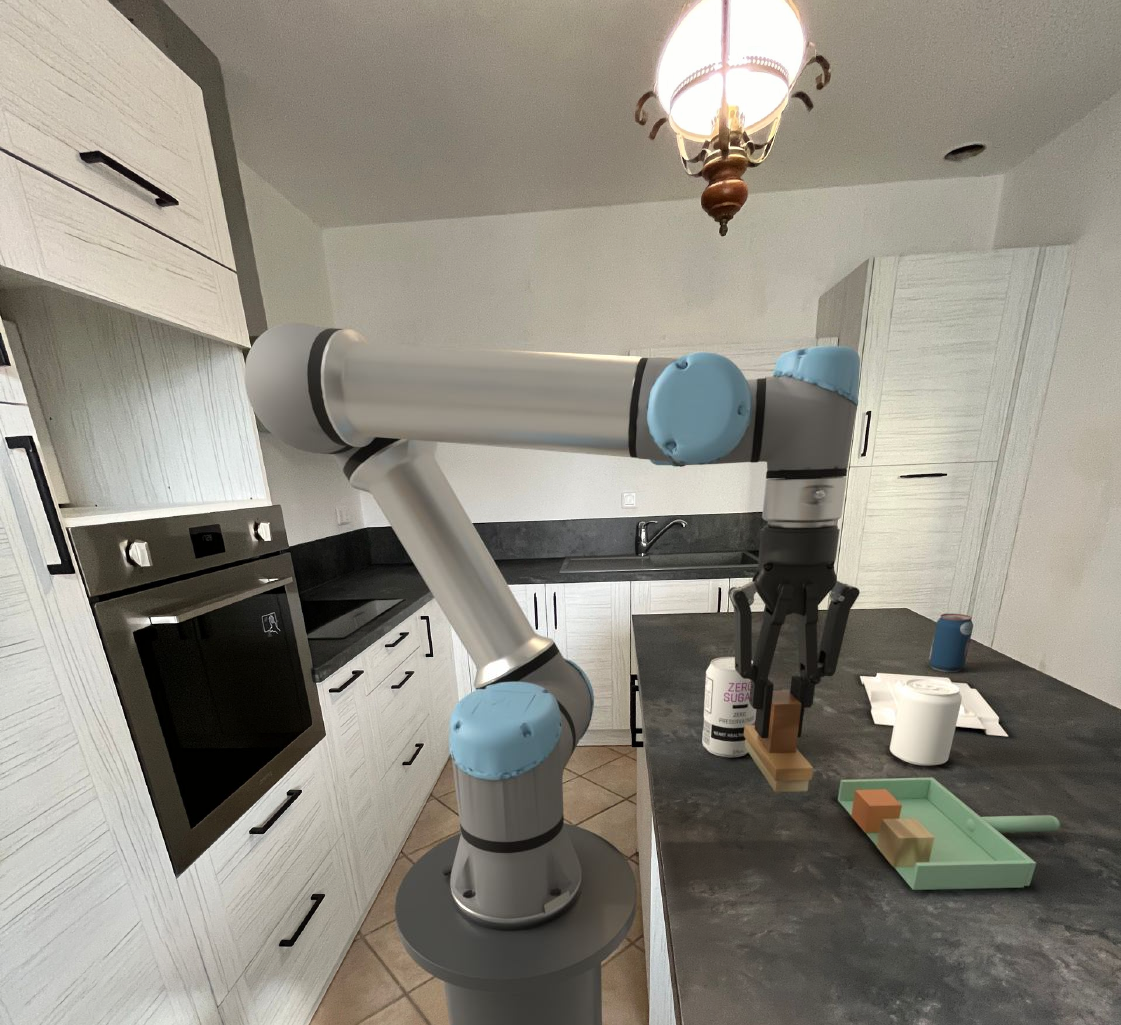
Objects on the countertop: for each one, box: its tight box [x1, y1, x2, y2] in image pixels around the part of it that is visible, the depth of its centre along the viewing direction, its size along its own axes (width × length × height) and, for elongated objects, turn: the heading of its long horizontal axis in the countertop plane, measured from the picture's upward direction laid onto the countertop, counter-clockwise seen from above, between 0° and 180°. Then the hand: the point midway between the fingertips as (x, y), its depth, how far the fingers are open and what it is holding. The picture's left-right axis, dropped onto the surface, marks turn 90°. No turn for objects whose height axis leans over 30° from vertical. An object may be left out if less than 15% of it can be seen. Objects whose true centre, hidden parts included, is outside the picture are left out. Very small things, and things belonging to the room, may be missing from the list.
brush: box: [744, 689, 814, 793], centre depth 68 cm, size 4×12×9 cm, turn 0°
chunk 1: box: [850, 789, 902, 834], centre depth 76 cm, size 4×4×4 cm
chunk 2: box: [876, 818, 934, 868], centre depth 69 cm, size 4×4×4 cm
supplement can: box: [701, 656, 756, 758], centre depth 96 cm, size 8×8×15 cm
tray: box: [859, 672, 1009, 737], centre depth 114 cm, size 20×28×4 cm
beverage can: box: [889, 679, 962, 767], centre depth 91 cm, size 8×8×12 cm
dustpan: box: [837, 777, 1061, 891], centre depth 73 cm, size 23×19×3 cm
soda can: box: [928, 613, 974, 673], centre depth 131 cm, size 7×7×12 cm
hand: (777, 732), depth 68 cm, fingers closed on brush, 3 cm apart
